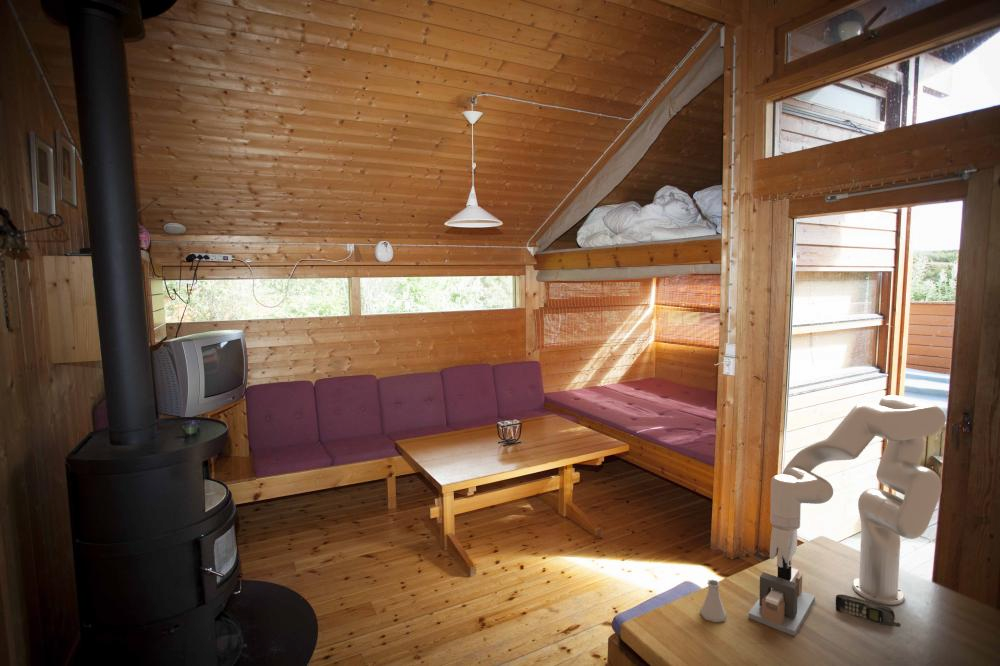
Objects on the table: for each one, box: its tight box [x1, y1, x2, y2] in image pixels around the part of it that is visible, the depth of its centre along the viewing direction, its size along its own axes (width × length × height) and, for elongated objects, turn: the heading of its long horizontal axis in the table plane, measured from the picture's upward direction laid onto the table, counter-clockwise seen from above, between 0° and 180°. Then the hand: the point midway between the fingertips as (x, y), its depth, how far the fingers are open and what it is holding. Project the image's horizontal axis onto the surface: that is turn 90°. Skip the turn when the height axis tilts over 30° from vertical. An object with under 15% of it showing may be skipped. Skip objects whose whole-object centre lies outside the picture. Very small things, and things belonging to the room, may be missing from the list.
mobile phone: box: [835, 594, 902, 627], centre depth 150 cm, size 5×3×15 cm
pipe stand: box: [748, 567, 816, 637], centre depth 155 cm, size 20×12×8 cm, turn 136°
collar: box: [759, 571, 798, 619], centre depth 152 cm, size 3×9×9 cm, turn 46°
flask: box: [699, 579, 728, 623], centre depth 154 cm, size 7×7×10 cm
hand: (784, 578), depth 155 cm, fingers closed
